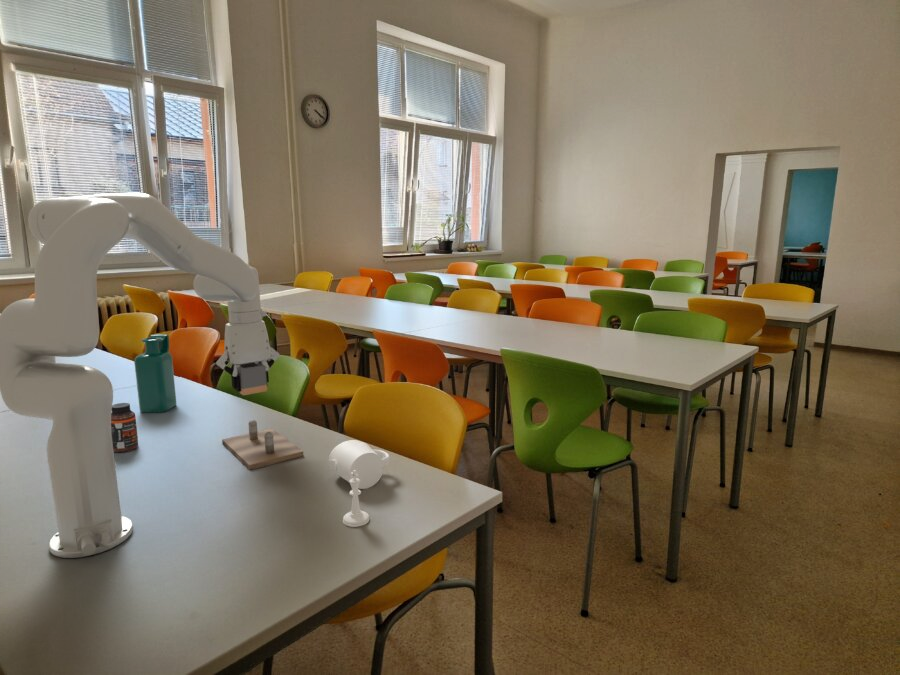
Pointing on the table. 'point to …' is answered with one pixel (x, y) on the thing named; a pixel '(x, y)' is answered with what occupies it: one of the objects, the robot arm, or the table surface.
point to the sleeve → (252, 378)
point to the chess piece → (355, 506)
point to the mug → (358, 462)
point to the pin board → (261, 447)
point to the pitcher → (155, 375)
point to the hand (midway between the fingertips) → (251, 387)
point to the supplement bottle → (123, 428)
